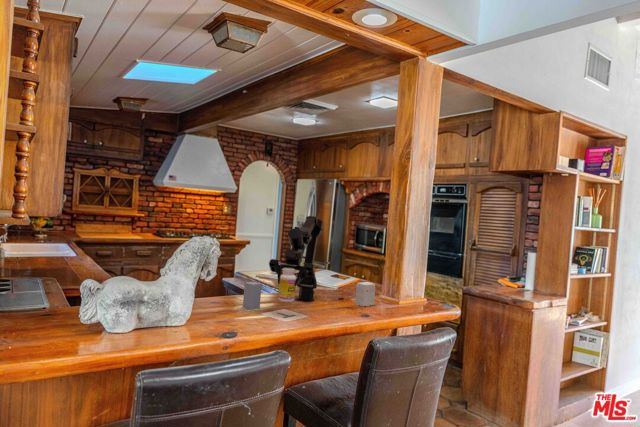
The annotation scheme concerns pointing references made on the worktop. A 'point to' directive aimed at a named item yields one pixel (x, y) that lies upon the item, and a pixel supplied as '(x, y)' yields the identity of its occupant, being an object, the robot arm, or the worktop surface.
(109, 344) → the worktop surface
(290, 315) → the pad
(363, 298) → the small box
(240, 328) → the worktop surface
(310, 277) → the robot arm
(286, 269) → the supplement bottle
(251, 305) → the gray block
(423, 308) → the worktop surface
